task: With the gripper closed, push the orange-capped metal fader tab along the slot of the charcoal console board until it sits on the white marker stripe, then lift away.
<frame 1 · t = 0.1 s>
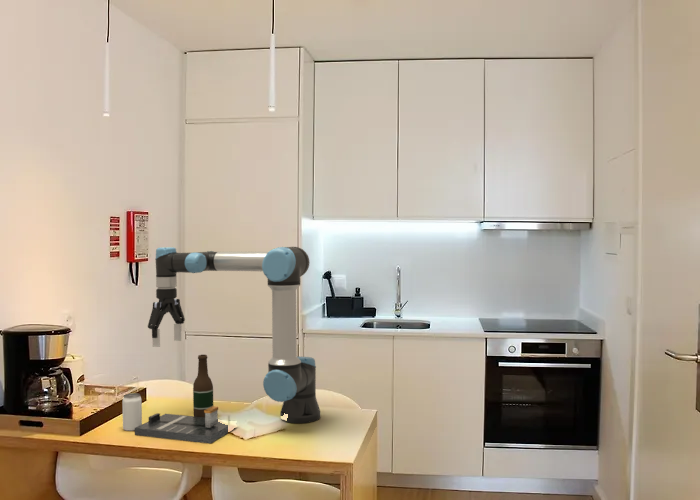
hand: (167, 343, 238), 28 cm above the table, fingers open, 13 cm apart
can: (132, 428, 224), on the table
console board: (186, 431, 220), on the table
fader knob: (211, 417, 217), point 6 cm above the table, slide at 0.0 cm
beer bottle: (203, 418, 236), on the table
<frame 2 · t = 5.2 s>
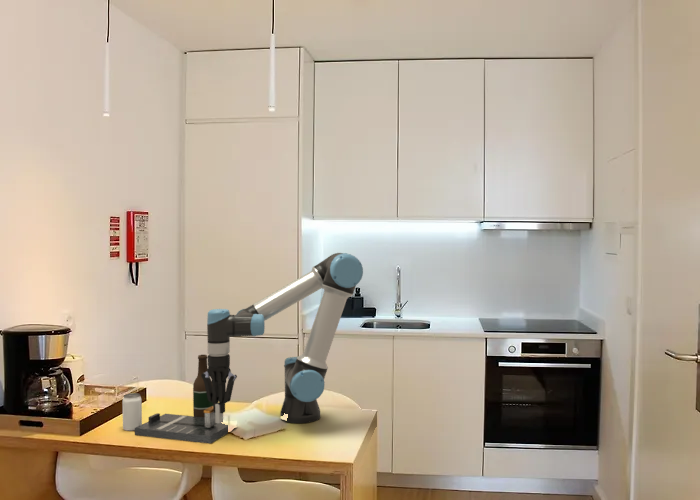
hand: (219, 421, 216), 5 cm above the table, fingers closed
fader knob: (210, 416, 217), point 6 cm above the table, slide at 0.2 cm, touching gripper
everything else where it was.
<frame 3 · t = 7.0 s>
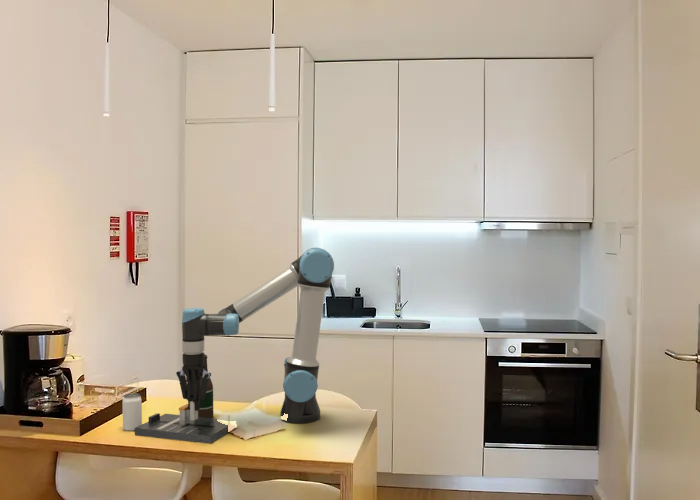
hand: (194, 419, 219), 5 cm above the table, fingers closed
fader knob: (186, 414, 220), point 6 cm above the table, slide at 10.2 cm, touching gripper
everything else where it was.
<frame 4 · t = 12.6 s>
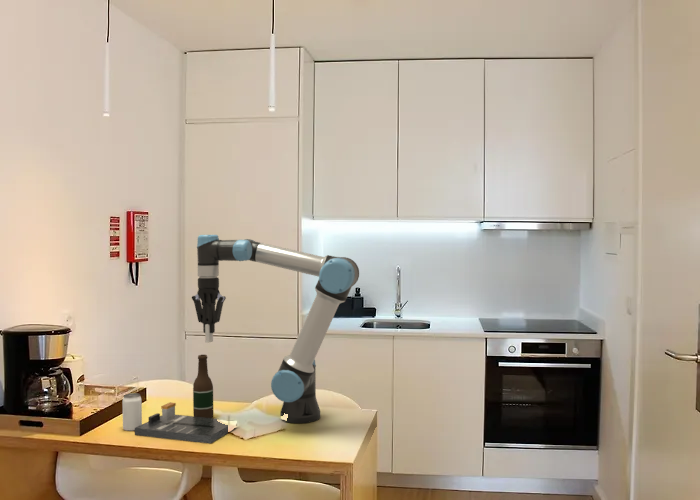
hand: (209, 341, 227), 30 cm above the table, fingers closed
fader knob: (168, 412, 223), point 6 cm above the table, slide at 17.4 cm
everything else where it was.
at the end: fader knob slide at 17.4 cm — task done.
